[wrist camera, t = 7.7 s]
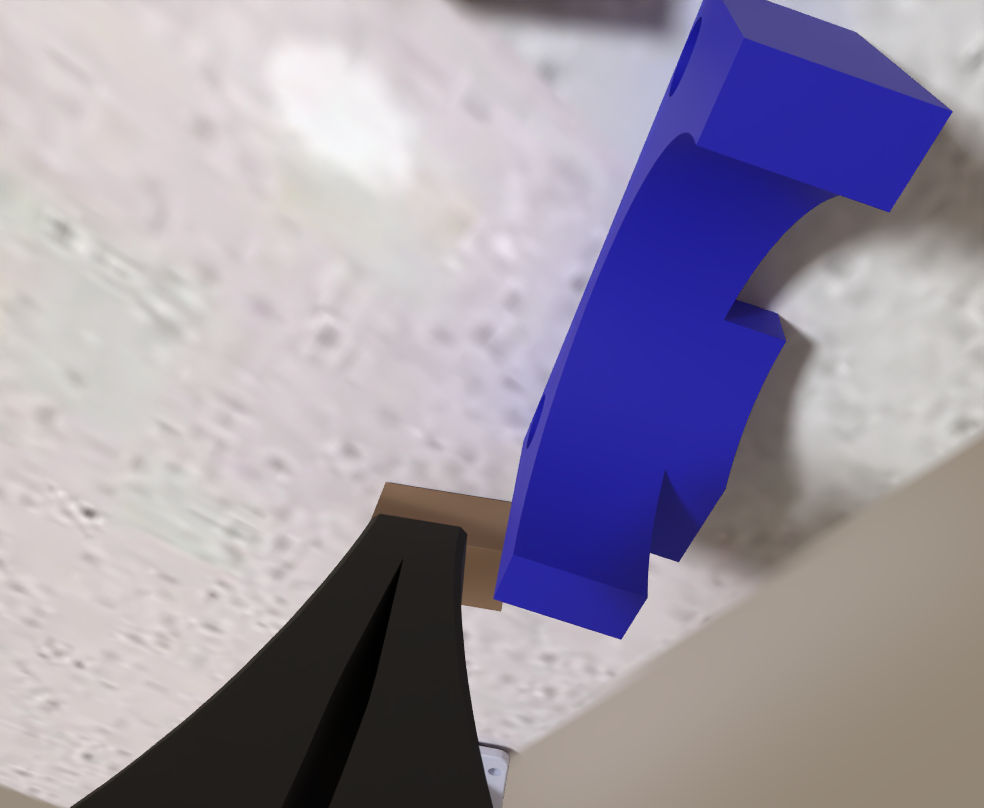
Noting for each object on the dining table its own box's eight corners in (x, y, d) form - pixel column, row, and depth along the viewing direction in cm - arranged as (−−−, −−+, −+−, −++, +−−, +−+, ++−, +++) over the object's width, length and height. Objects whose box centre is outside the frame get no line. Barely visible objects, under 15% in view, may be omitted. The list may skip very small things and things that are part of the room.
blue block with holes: (674, 485, 23) (684, 659, 18) (524, 436, 22) (492, 599, 18) (924, 55, 16) (1054, 146, 11) (710, -22, 15) (744, 37, 11)
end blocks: (509, 562, 25) (501, 611, 23) (385, 541, 25) (368, 588, 24) (608, -188, 14) (605, -194, 12) (386, -210, 14) (354, -217, 13)
